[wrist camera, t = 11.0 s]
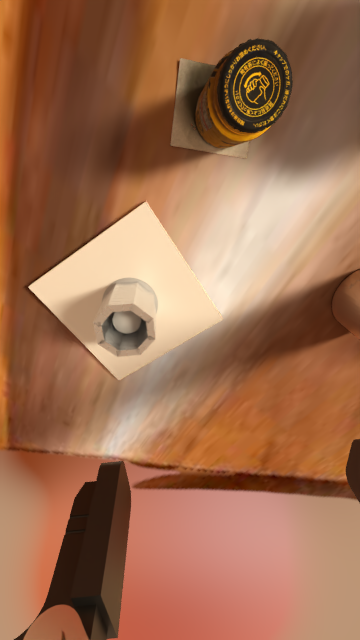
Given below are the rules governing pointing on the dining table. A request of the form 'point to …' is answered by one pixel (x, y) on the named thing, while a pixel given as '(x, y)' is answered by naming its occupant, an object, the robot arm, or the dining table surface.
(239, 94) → the condiment
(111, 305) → the collar
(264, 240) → the dining table surface
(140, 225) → the duct flange
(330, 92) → the dining table surface
